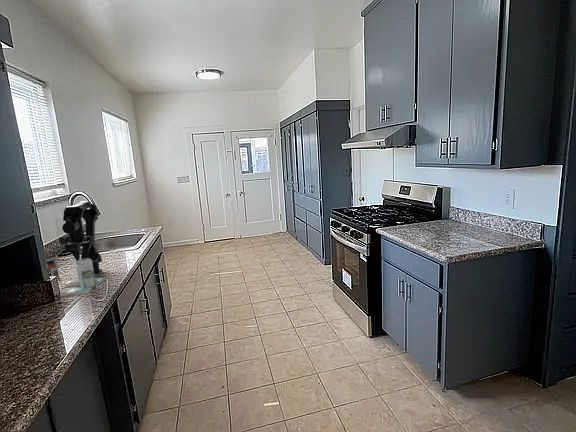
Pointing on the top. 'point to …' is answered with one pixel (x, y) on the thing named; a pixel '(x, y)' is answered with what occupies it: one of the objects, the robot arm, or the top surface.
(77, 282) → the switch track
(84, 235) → the robot arm
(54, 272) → the supplement bottle
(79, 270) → the syrup box
